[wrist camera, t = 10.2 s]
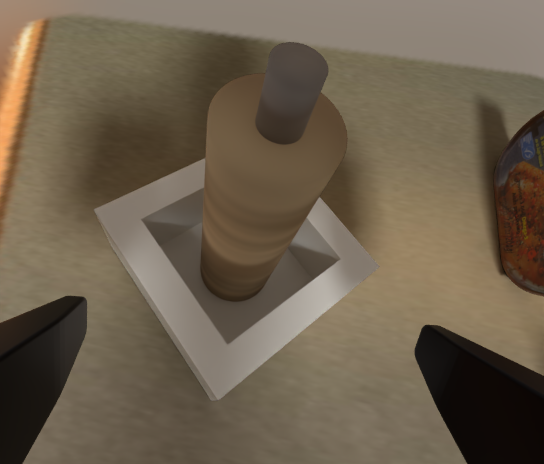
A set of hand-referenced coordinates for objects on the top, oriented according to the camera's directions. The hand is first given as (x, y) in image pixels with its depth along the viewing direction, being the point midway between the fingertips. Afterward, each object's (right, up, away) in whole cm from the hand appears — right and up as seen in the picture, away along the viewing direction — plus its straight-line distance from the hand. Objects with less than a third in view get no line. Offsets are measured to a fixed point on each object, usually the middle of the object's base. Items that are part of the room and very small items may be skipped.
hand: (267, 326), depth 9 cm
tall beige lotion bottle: (-2, 0, +11) cm, 11 cm away
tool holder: (-2, 0, +12) cm, 12 cm away
